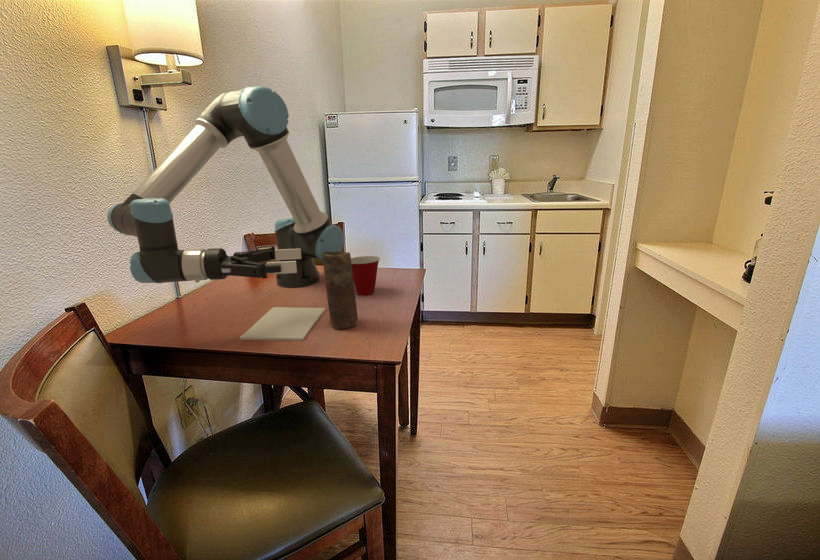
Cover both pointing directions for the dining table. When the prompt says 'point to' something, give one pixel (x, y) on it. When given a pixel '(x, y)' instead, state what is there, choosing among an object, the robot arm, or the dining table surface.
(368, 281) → the plastic cup
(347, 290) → the brown rough cylinder
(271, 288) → the dining table surface
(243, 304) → the dining table surface
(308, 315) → the mat
